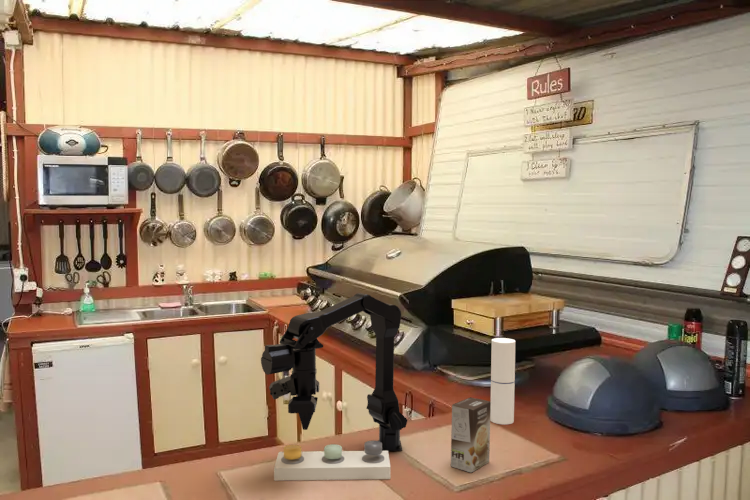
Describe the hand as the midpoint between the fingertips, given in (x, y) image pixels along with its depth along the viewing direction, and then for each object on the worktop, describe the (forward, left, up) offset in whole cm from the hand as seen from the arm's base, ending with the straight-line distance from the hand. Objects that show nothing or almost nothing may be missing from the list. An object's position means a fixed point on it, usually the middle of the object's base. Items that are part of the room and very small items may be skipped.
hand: (305, 429), depth 153 cm
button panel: (0, +7, -11) cm, 13 cm away
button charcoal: (0, +17, -6) cm, 18 cm away
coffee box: (-3, +42, -11) cm, 43 cm away
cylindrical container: (-35, +58, -11) cm, 68 cm away
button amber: (0, -3, -7) cm, 8 cm away
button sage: (0, +7, -7) cm, 10 cm away
